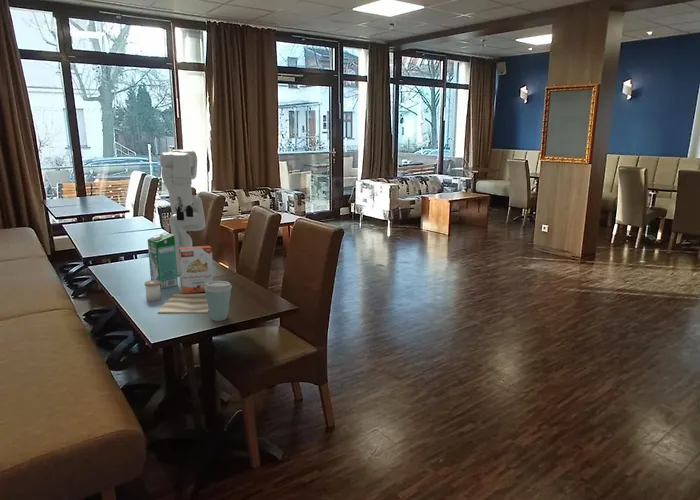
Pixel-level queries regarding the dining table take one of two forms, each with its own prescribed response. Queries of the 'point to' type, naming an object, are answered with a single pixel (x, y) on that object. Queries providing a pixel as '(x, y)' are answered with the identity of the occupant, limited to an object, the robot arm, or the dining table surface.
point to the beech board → (185, 304)
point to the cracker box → (195, 268)
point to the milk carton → (163, 259)
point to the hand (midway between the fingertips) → (185, 218)
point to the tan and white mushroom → (153, 290)
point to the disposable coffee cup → (218, 299)
